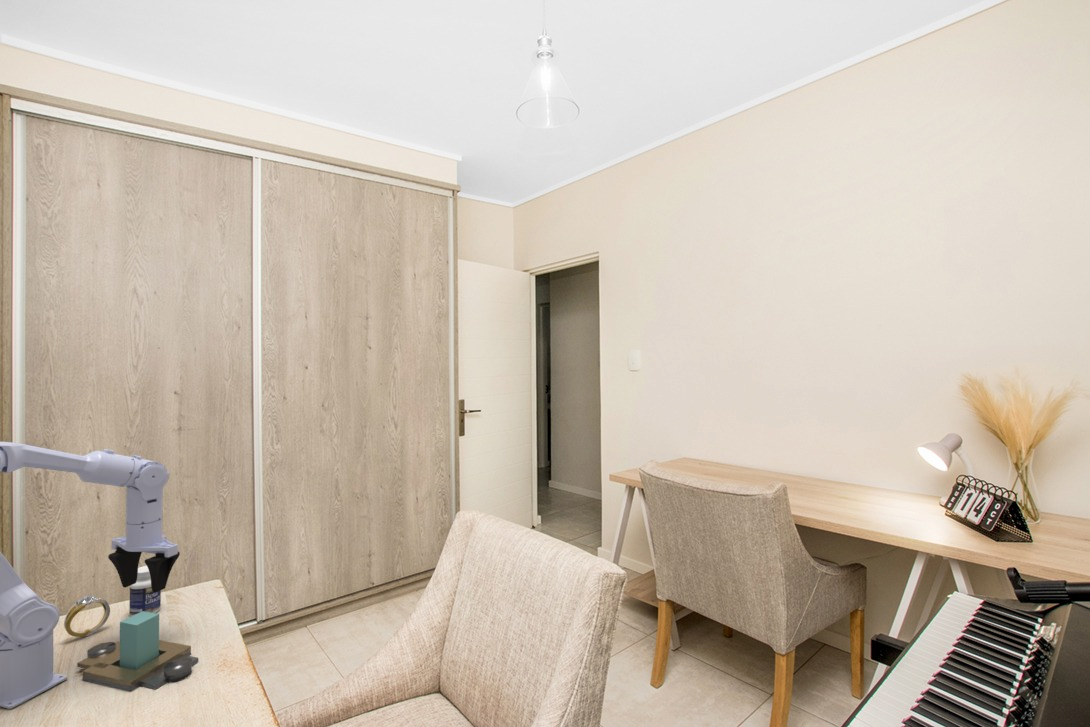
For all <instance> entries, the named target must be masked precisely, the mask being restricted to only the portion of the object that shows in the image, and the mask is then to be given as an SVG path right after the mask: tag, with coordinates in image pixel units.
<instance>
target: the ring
mask: <svg viewBox="0 0 1090 727" xmlns="http://www.w3.org/2000/svg"><path fill="white" fill-rule="evenodd" d="M93 603H94V604H98V605H101V606H102V608H103V616H102V618H101V620H100V621H99V623H98V624H97V625H96V626H94V627H92V628H91V629H89V628H88V629H85V630H84V631H80V632H79V631H78V632H77V631H73V630H72V627H71V623H72V621H73V619H74V617H75V616H76V615H77V614H79V612H81V611H82V610H83V609H85V608H86V606H89V605H90V604H93ZM110 613H111V608H110V605H109V603H108V601H107V600H105V599H104V598H97V594H94V596H92V595H91V596H89V594H87V595H84V596H82V597H81V598H80V599H79V600H78V601H77V600H76V601H75V603H74V604H73V605H72V606H71V607H70V608H69V610H68V611H67V612H66V614H65V617H64V621H63V627H64V630H65V631H66V632H67V634H68V635H70V636H72V637H76V638H81V637H89V636H91V635H92V634H94V633H96V632H97V631H99V630H100V629H101V628H103V626H104V625H105V624H106V622H107V621H108V619H109V617H110Z"/></svg>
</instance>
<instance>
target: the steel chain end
mask: <svg viewBox="0 0 1090 727" xmlns="http://www.w3.org/2000/svg"><path fill="white" fill-rule="evenodd" d="M191 655H192V649H191V650H190V651H189V652H187V653H185V654H184V655H182V656H181V657H179V658H177V659H175V660H173V661H171V662H169V663H167V664H166V665H165V666H164V667H163V668H161V669H159V670H158V671H156V672H154V673H153V674H151V675H149V676H148V677H146V678H145V679H143V680H141V681H140V682H138V683H136V684H135V685H133V686H131V687H130V686H125V685H121V684H116V683H112V682H108V681H103V680H99V679H95V678H90V677H86V676H81V677H82V678H81V679H82V681H84V682H89V683H93V684H96V685H97V684H98V685H101V686H106V687H111V688H115V689H118V690H122V691H123V690H124V691H127V692H133V691H134V690H135V689H138V688H139V687H142V688H143V687H144V688H148V689H152V690H158V689H159V688H160V687H162V686H164V685H165V684H167V683H177V682H179V681H182V680H184V679H186V678H188V677H189V676H190V675H191V674H192V670H193V669H192V668H193V666H194V665H196V664H198V663H199V657H197V656H191ZM159 656H160V654H159ZM117 667H120V664H118V665H117Z"/></svg>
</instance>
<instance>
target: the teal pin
mask: <svg viewBox="0 0 1090 727" xmlns="http://www.w3.org/2000/svg"><path fill="white" fill-rule="evenodd" d="M159 640H160V614H159V613H150V612H145V611H142V612H140V613H138V614H135V615H133V616H131V617H130V616H129V617H127V618H125V619H122V620H121V621H120V622H119V641H120V667H122V668H127V669H131V670H136V669H138V668H140V667H141V666H143V665H145V664H147V663H148V662H150V661H152V660H153V659H155V658H157V657H159Z"/></svg>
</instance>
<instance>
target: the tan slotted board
mask: <svg viewBox="0 0 1090 727" xmlns="http://www.w3.org/2000/svg"><path fill="white" fill-rule="evenodd" d="M190 650H191V651H192V646H191V645H187V644H183V643H176V642H173V641H167V640H161V639H159V654H160V656H159V657H157V658H155V659H153V660H152V661H150V662H148V663H147V664H145V665H143V666H141V667H140V668H138V669H136V670H131V669H127V668H122V667H117V665H118V664H120V640H119V641H117V642H113V641H106V642H102V643H99V644H96V645H93V646H92V647H90V648H89V649H88V650H87V656H86V657H85V658H84V659H81V660H80V661H78V662H77V667H76V668H79V669H84V670H82V671H81V672H82V676H86V677H90V678H95V679H99V680H103V681H108V682H112V683H116V684H121V685H125V686H130V687H131V686H133V685H135V684H136V683H138V682H140V681H141V680H143V679H145V678H146V677H148V676H149V675H151V674H153V673H154V672H156V671H158V670H159V669H161V668H163V667H164V666H165V665H166V664H167V663H169V662H171V661H173V660H175V659H177V658H179V657H181V656H182V655H184V654H185V653H187V652H189V651H190ZM82 676H81V677H82Z"/></svg>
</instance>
